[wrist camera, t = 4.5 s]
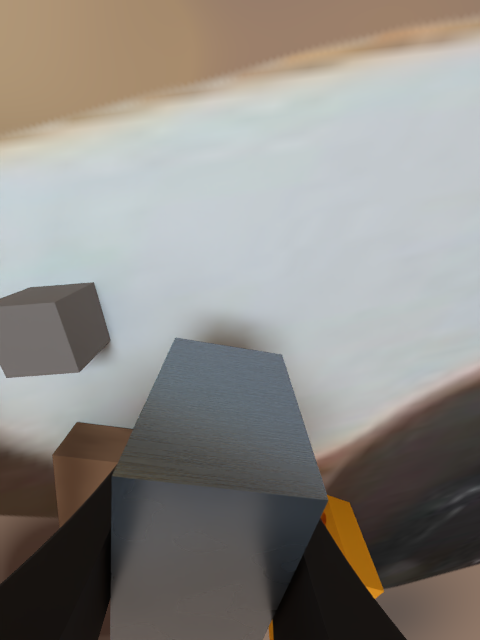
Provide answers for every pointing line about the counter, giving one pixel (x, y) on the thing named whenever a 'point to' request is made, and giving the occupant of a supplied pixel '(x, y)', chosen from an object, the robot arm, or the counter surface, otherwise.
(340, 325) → the counter surface
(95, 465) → the walnut stand
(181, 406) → the block
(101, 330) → the grey rubber block
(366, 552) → the pipe clamp
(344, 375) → the counter surface
